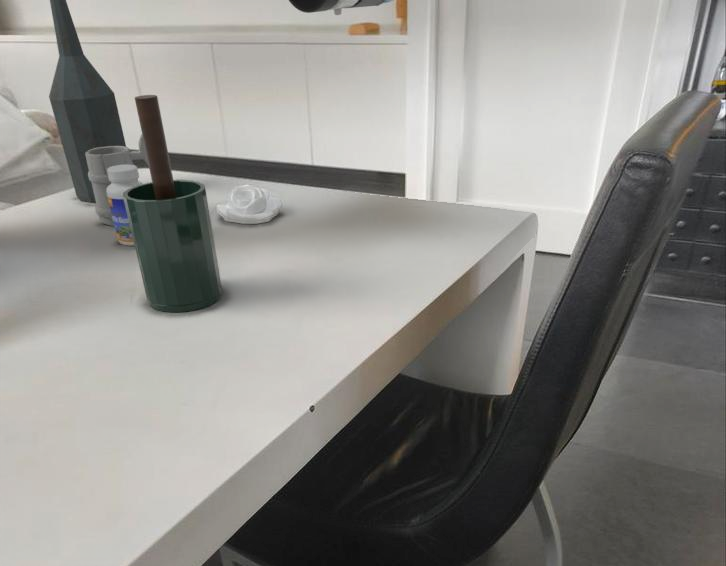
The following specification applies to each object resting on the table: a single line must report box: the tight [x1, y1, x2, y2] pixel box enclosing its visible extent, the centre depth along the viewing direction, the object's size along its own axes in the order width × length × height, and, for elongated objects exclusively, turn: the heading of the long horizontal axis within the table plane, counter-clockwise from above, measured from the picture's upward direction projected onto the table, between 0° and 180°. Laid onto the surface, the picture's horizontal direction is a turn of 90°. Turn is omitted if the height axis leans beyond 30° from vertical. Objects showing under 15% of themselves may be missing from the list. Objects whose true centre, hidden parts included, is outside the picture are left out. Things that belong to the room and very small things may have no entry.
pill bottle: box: [106, 164, 144, 247], centre depth 95 cm, size 5×5×10 cm
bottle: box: [48, 0, 127, 204], centre depth 110 cm, size 10×10×30 cm
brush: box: [134, 94, 177, 200], centre depth 74 cm, size 4×4×20 cm
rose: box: [215, 184, 283, 225], centre depth 104 cm, size 10×4×10 cm
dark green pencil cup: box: [123, 179, 223, 313], centre depth 77 cm, size 9×9×12 cm
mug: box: [85, 134, 149, 226], centre depth 103 cm, size 8×12×12 cm, turn 95°
